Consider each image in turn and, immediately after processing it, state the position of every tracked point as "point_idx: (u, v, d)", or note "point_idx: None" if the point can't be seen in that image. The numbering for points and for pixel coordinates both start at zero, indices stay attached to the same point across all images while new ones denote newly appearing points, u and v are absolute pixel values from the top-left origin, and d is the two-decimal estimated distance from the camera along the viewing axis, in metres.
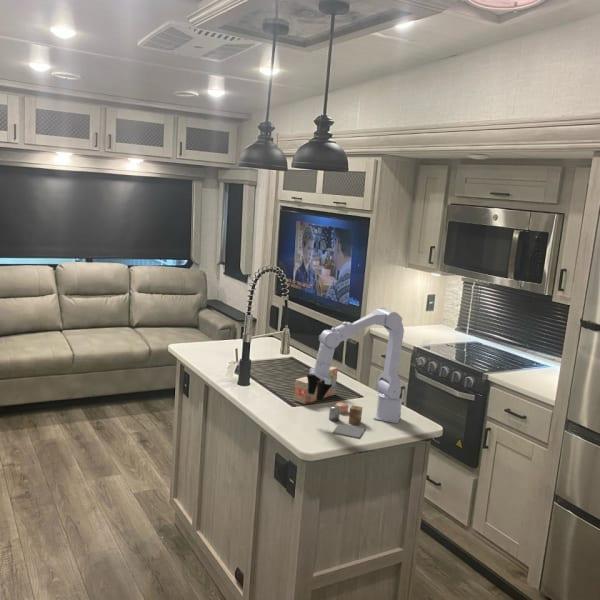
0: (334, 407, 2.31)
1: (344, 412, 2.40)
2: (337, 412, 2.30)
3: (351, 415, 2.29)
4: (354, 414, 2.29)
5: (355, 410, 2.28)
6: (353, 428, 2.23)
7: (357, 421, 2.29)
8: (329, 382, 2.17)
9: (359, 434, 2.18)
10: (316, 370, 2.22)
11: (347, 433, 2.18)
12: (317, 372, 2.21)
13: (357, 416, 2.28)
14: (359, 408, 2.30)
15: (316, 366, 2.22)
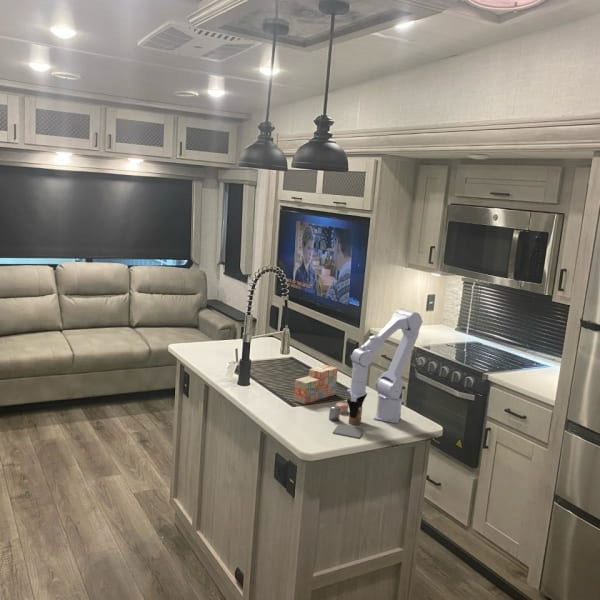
0: (334, 407, 2.31)
1: (344, 412, 2.40)
2: (337, 412, 2.30)
3: None
4: None
5: None
6: (353, 428, 2.23)
7: (357, 421, 2.29)
8: (354, 399, 2.22)
9: (359, 434, 2.18)
10: None
11: (347, 433, 2.18)
12: (351, 390, 2.28)
13: (357, 416, 2.28)
14: (359, 408, 2.30)
15: (351, 384, 2.29)
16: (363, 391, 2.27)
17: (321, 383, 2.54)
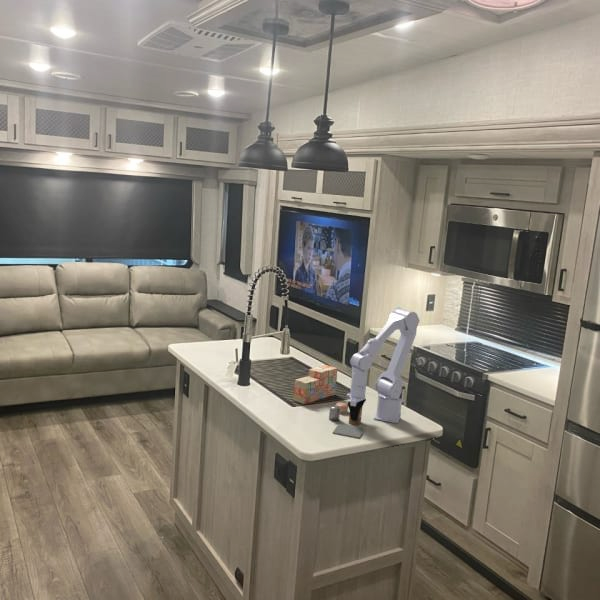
0: (334, 407, 2.31)
1: (344, 412, 2.40)
2: (337, 412, 2.30)
3: None
4: None
5: None
6: (353, 428, 2.23)
7: (357, 421, 2.29)
8: (354, 404, 2.23)
9: (359, 434, 2.18)
10: (350, 392, 2.29)
11: (347, 433, 2.18)
12: (350, 394, 2.28)
13: None
14: None
15: None
16: (363, 395, 2.27)
17: (321, 383, 2.54)
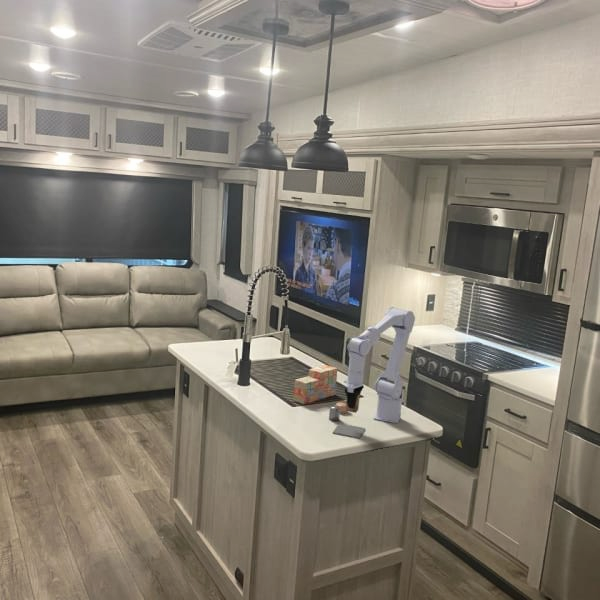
0: (334, 407, 2.31)
1: (344, 412, 2.40)
2: (337, 412, 2.30)
3: None
4: None
5: None
6: (353, 428, 2.23)
7: (354, 408, 2.20)
8: (351, 390, 2.14)
9: (359, 434, 2.18)
10: None
11: (347, 433, 2.18)
12: (348, 380, 2.20)
13: None
14: None
15: (348, 374, 2.21)
16: (360, 382, 2.19)
17: (321, 383, 2.54)
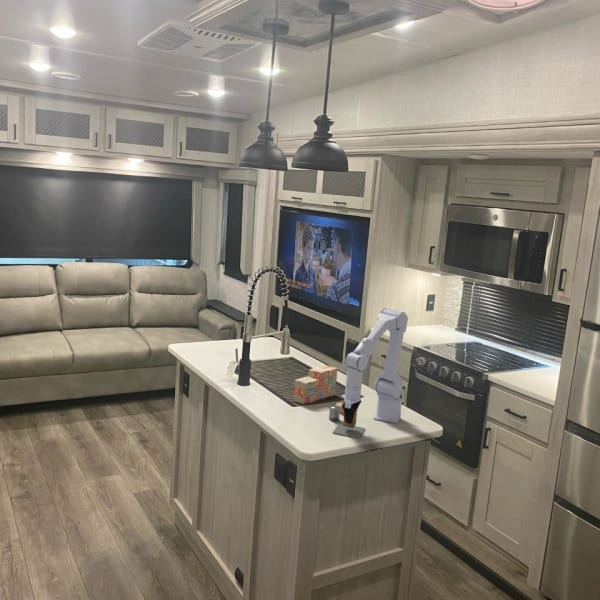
0: (334, 407, 2.31)
1: None
2: (337, 412, 2.30)
3: None
4: None
5: None
6: (353, 428, 2.23)
7: (352, 424, 2.19)
8: (349, 406, 2.13)
9: (359, 434, 2.18)
10: (345, 393, 2.19)
11: (347, 433, 2.18)
12: (345, 395, 2.19)
13: None
14: None
15: (345, 389, 2.19)
16: (358, 397, 2.17)
17: (321, 383, 2.53)
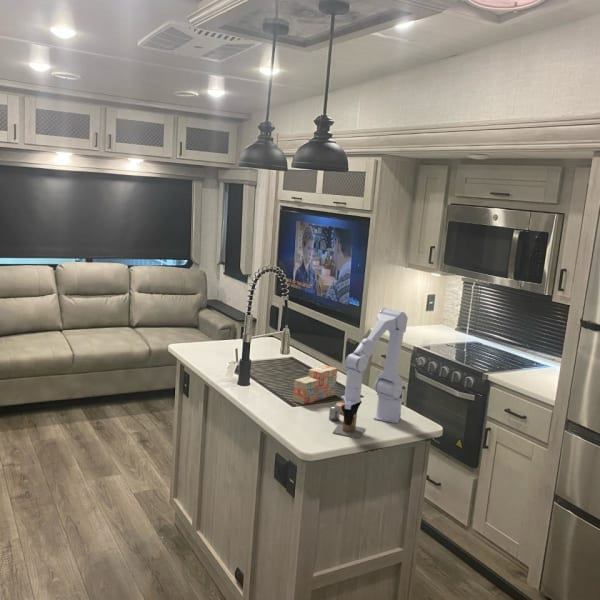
0: (334, 407, 2.31)
1: None
2: (337, 412, 2.30)
3: None
4: None
5: None
6: None
7: (351, 428, 2.19)
8: (348, 407, 2.13)
9: (359, 434, 2.18)
10: (345, 394, 2.19)
11: (347, 433, 2.18)
12: (345, 396, 2.19)
13: None
14: None
15: (345, 390, 2.19)
16: (358, 398, 2.17)
17: (321, 383, 2.53)
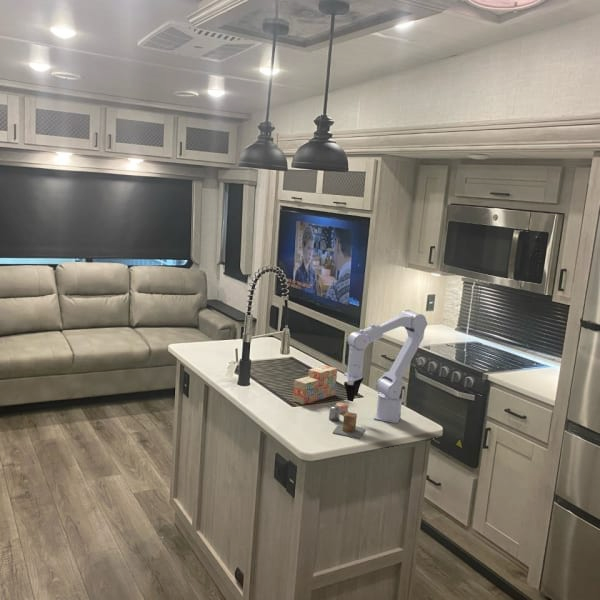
0: (334, 407, 2.31)
1: (344, 412, 2.40)
2: (337, 412, 2.30)
3: (345, 422, 2.20)
4: (348, 421, 2.19)
5: (349, 417, 2.19)
6: None
7: (351, 428, 2.19)
8: (351, 383, 2.22)
9: (359, 434, 2.18)
10: (347, 371, 2.29)
11: (347, 433, 2.18)
12: (347, 373, 2.28)
13: (351, 423, 2.19)
14: (353, 415, 2.20)
15: None
16: (360, 374, 2.27)
17: (320, 383, 2.53)
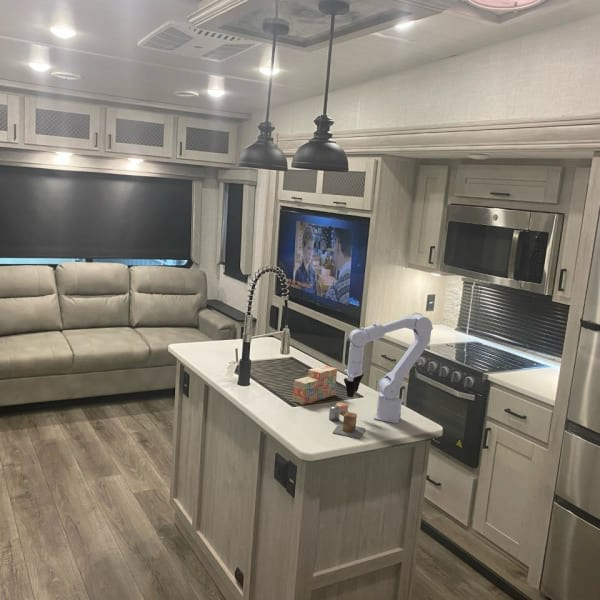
0: (334, 407, 2.31)
1: (344, 412, 2.40)
2: (337, 412, 2.30)
3: (345, 422, 2.20)
4: (348, 421, 2.19)
5: (349, 417, 2.19)
6: None
7: (351, 428, 2.19)
8: (351, 379, 2.27)
9: (359, 434, 2.18)
10: (347, 368, 2.33)
11: (347, 433, 2.18)
12: (347, 370, 2.33)
13: (351, 423, 2.19)
14: (353, 415, 2.20)
15: None
16: (360, 371, 2.31)
17: (320, 384, 2.53)
